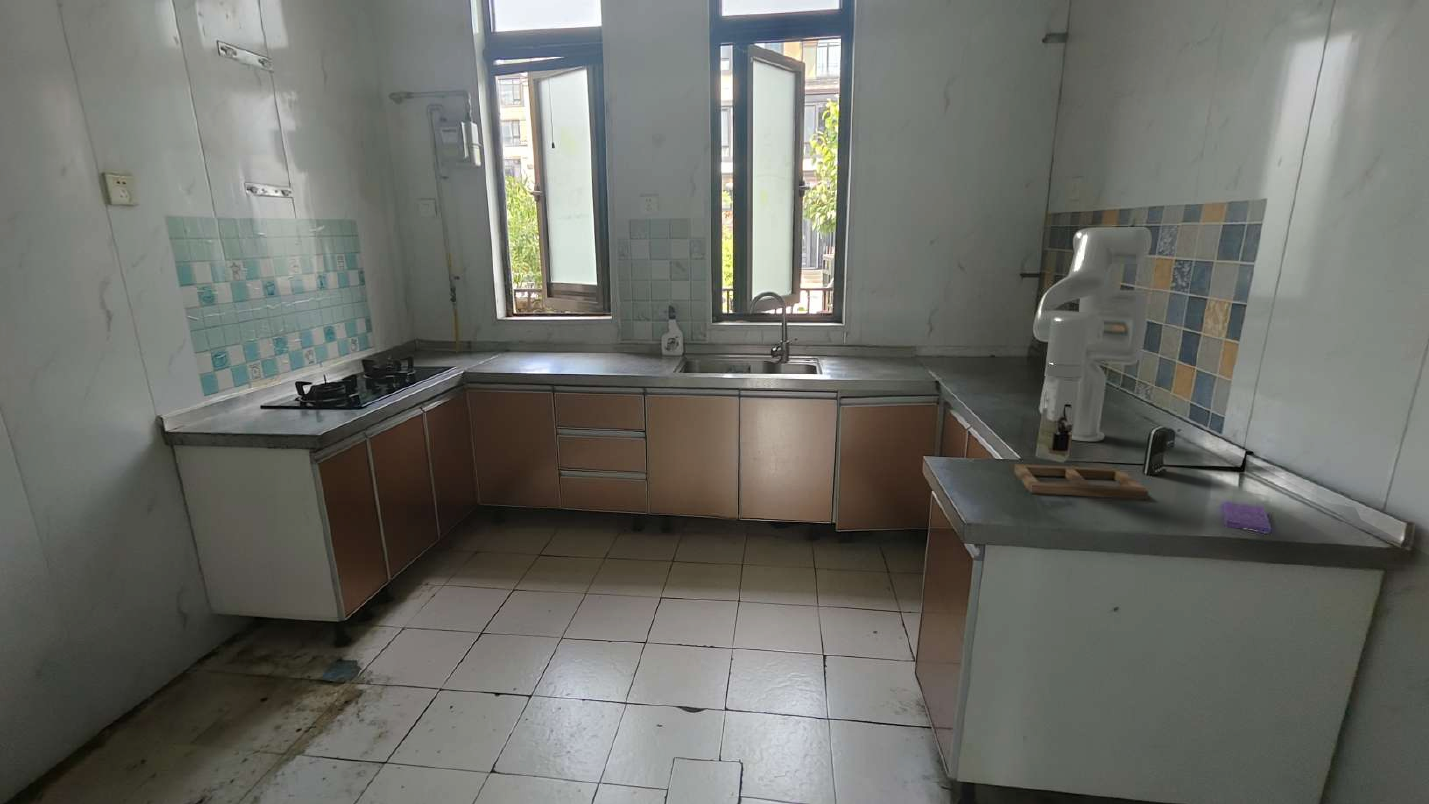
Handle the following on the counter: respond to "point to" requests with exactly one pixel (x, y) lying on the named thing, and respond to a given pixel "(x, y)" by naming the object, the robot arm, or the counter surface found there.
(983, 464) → the counter surface
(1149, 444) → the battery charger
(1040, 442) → the skincare box
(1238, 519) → the sponges
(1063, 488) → the rack
